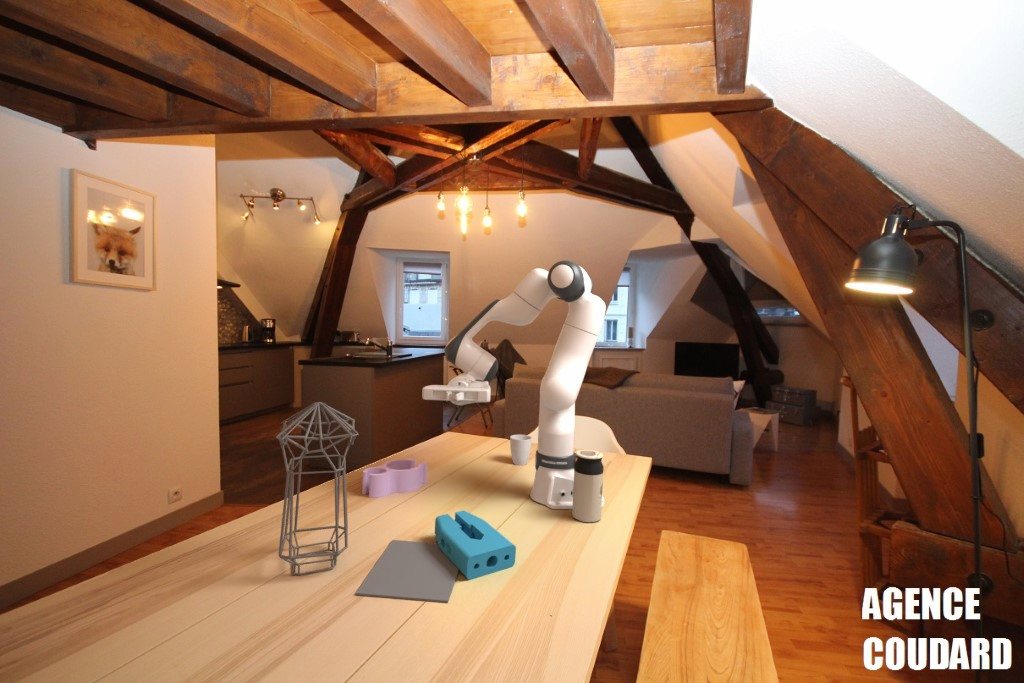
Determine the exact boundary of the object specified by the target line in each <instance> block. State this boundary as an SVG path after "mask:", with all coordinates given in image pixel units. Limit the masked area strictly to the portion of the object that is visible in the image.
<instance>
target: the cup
mask: <svg viewBox="0 0 1024 683" xmlns="http://www.w3.org/2000/svg"><path fill="white" fill-rule="evenodd" d="M509 438H510V439H509V441H510V443H509V444H510V455H511V459H512V463H513V464H514V465H515V466H526V465H527V464H528V461H529V459H530V453H531V449H532V440H533V439H532V438H533V437H532V436H531V435H527V434H513V435H510V436H509Z"/></svg>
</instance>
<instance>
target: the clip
mask: <svg viewBox="0 0 1024 683" xmlns="http://www.w3.org/2000/svg"><path fill="white" fill-rule="evenodd" d="M428 465H429V464H428V462H427V461H426V462H425V461H424V462H421V461H420V462H417V464H416V457H411V458H398V459H397V458H396V459H391V460H387V461H384V462H383V463H382V464H380V465H378V466H370V467H367V468H365V469H363V470H362V488H361V489H362V492H361V493H362V495H368V498H369V499H381V498H384V497H387V496H389V495H392V494H405V493H410V492H414V491H418V490H419V489H421V487H422V485H427V484H428Z"/></svg>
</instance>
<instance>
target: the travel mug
mask: <svg viewBox="0 0 1024 683" xmlns="http://www.w3.org/2000/svg"><path fill="white" fill-rule="evenodd" d="M575 453H576V455H577V460H576V462H575V466H574V487H573V507H572V509H571V510H572V513H571V516H572V517H573V518H574V519H576V520H578V521H580V522H583V523H595V522H598V521H600V520H601V518H602V508H603V507H602V495H603V486H604V463H603V462H602V460H603V457H604V454H603V453H602V452H600V451H597V450H594V449H593V450H592V449H582V450H581V449H579V450H577V451H576V452H575Z"/></svg>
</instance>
